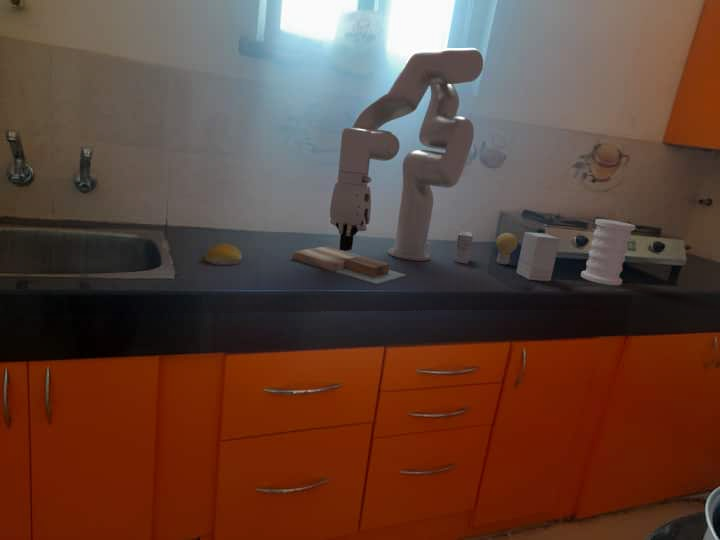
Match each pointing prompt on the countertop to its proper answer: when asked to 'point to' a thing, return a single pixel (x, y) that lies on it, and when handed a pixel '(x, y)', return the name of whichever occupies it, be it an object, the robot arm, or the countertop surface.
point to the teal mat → (376, 280)
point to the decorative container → (608, 252)
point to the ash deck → (324, 257)
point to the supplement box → (537, 256)
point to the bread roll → (223, 255)
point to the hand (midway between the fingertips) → (345, 249)
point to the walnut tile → (366, 266)
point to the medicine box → (463, 247)
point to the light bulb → (505, 247)
